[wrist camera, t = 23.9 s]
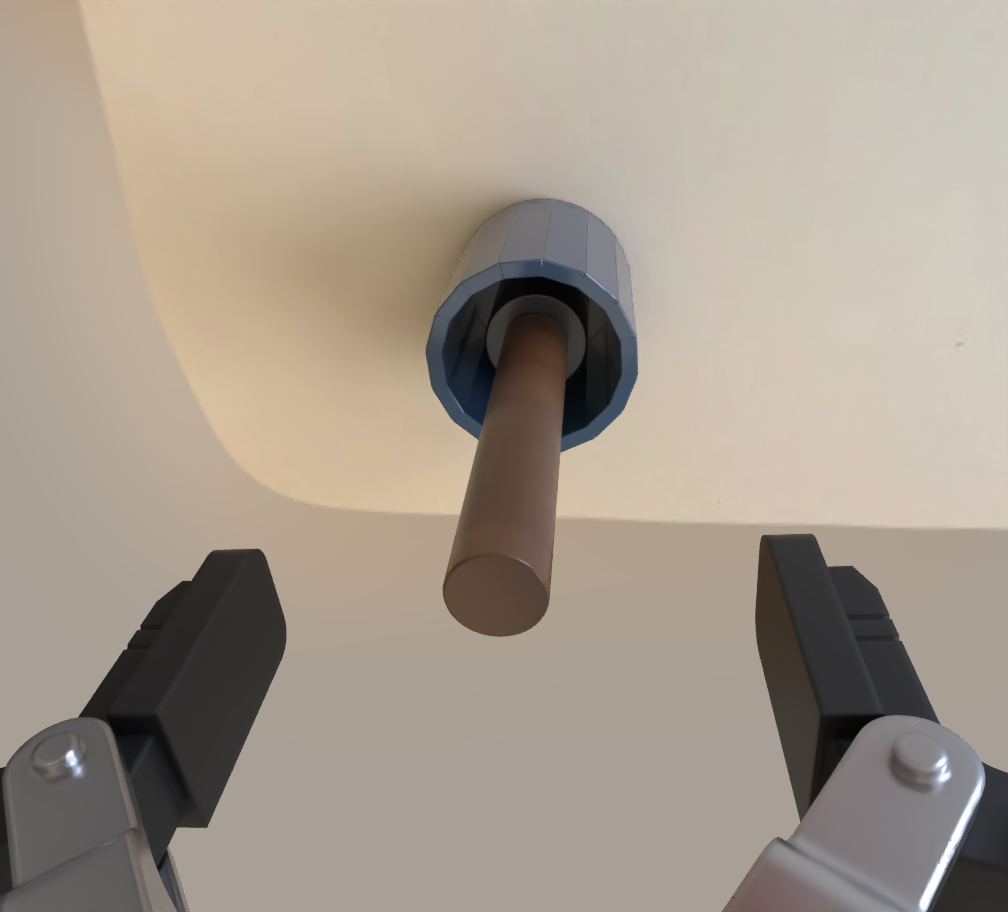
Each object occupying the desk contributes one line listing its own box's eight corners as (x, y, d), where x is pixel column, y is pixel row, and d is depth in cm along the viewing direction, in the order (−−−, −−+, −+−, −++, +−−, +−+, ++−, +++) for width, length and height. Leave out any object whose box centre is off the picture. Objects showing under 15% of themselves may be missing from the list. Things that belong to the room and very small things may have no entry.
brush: (505, 333, 31) (425, 662, 16) (495, 249, 29) (396, 530, 15) (591, 327, 30) (587, 660, 16) (586, 241, 29) (576, 524, 14)
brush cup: (471, 367, 32) (443, 459, 26) (448, 206, 29) (411, 269, 23) (632, 357, 31) (640, 449, 25) (625, 190, 28) (634, 251, 22)
